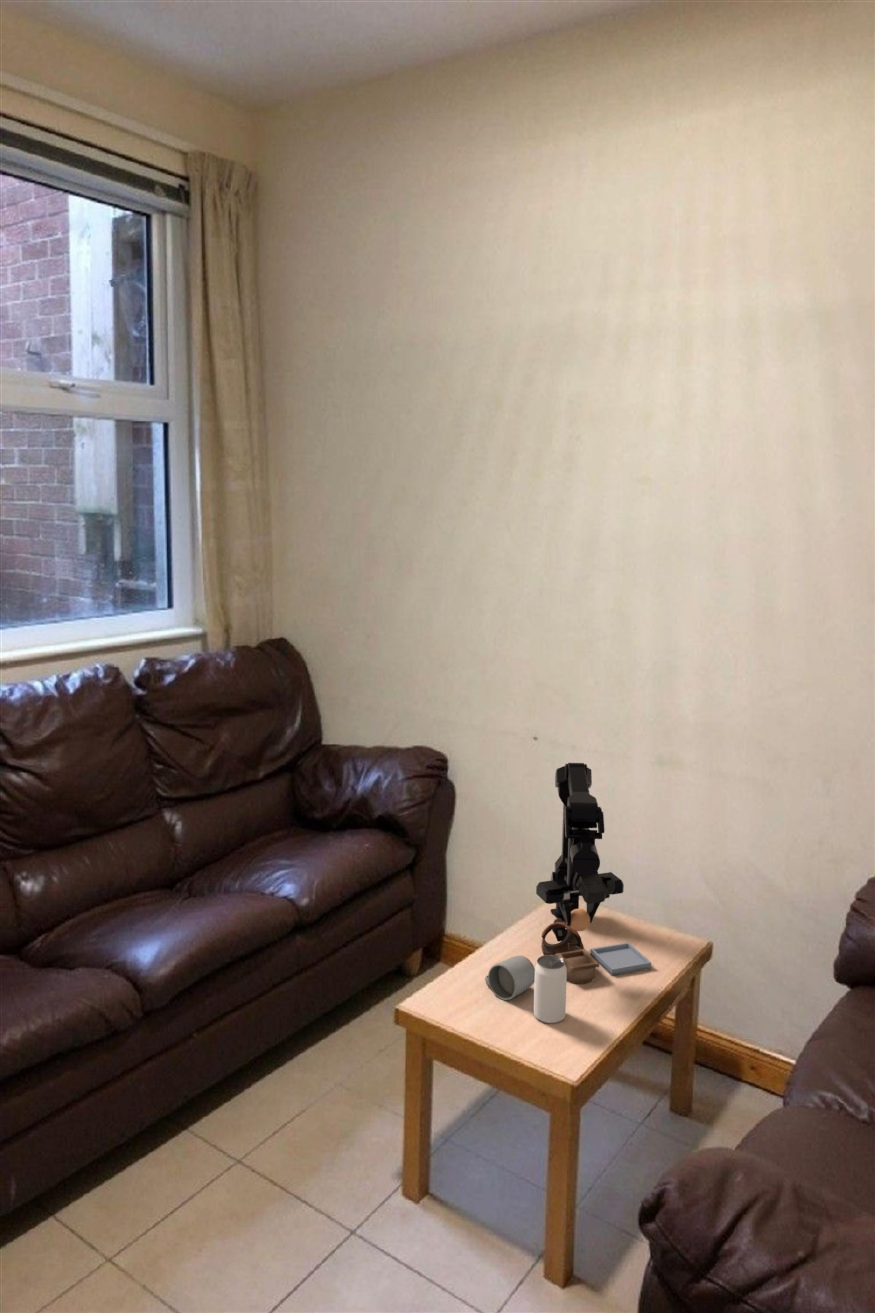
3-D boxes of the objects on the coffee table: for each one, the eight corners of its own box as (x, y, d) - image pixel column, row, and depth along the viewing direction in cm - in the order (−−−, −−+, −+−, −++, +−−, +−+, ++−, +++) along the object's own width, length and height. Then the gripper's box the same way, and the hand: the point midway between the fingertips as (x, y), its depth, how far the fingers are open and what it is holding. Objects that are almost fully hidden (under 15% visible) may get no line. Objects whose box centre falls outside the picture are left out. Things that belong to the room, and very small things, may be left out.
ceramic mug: (538, 990, 201) (538, 957, 199) (515, 1006, 195) (515, 971, 193) (499, 974, 208) (499, 942, 206) (476, 988, 202) (476, 955, 201)
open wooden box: (552, 968, 210) (553, 953, 209) (584, 963, 213) (585, 947, 212) (569, 986, 203) (569, 970, 202) (601, 980, 205) (602, 964, 204)
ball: (564, 927, 207) (564, 906, 206) (583, 923, 208) (584, 903, 208) (573, 936, 202) (574, 916, 202) (593, 933, 204) (594, 913, 203)
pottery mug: (591, 962, 214) (579, 938, 210) (554, 979, 215) (541, 955, 211) (578, 927, 225) (566, 903, 221) (542, 942, 225) (529, 919, 222)
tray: (590, 954, 216) (590, 948, 216) (628, 948, 219) (628, 942, 219) (611, 975, 207) (611, 969, 207) (651, 968, 210) (651, 962, 210)
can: (570, 1012, 192) (571, 959, 190) (557, 1028, 187) (559, 972, 185) (541, 1003, 196) (542, 950, 194) (528, 1018, 190) (529, 964, 188)
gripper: (558, 876, 192) (556, 947, 195) (638, 865, 198) (635, 934, 201) (536, 857, 202) (534, 924, 205) (612, 847, 208) (609, 912, 211)
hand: (578, 924), depth 205 cm, fingers closed on ball, 5 cm apart
